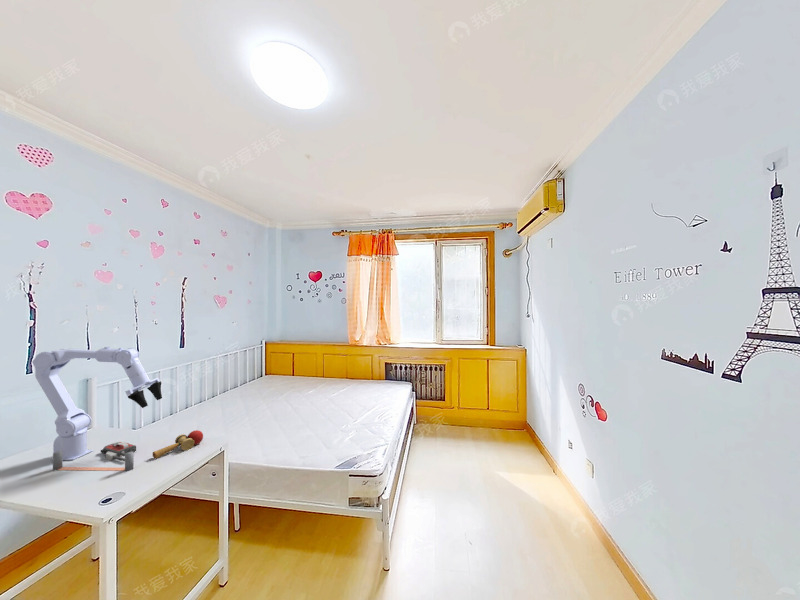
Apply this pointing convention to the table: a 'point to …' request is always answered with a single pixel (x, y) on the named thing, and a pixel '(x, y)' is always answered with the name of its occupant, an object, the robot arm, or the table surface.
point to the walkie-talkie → (118, 450)
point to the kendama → (181, 443)
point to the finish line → (58, 466)
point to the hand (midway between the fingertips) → (152, 402)
